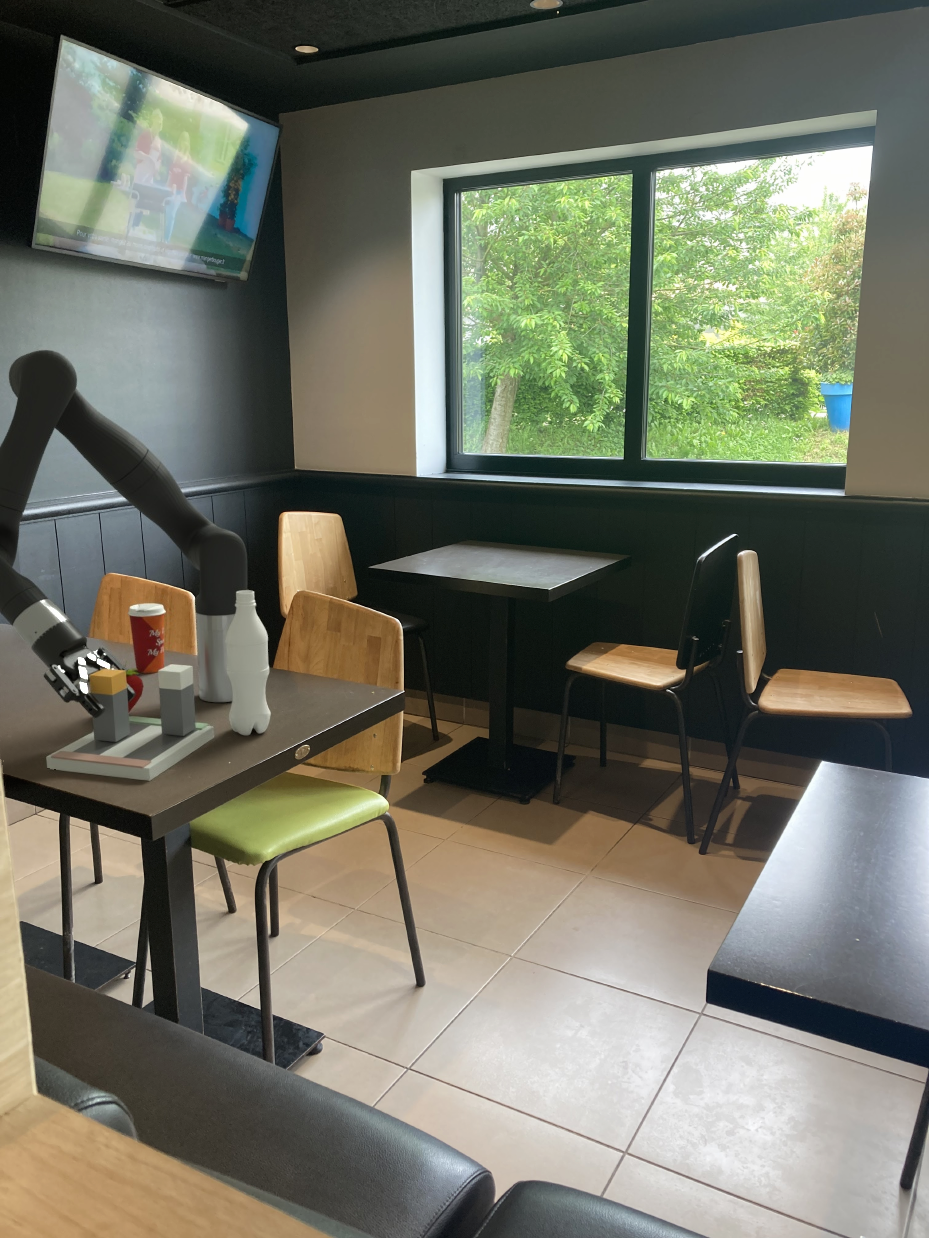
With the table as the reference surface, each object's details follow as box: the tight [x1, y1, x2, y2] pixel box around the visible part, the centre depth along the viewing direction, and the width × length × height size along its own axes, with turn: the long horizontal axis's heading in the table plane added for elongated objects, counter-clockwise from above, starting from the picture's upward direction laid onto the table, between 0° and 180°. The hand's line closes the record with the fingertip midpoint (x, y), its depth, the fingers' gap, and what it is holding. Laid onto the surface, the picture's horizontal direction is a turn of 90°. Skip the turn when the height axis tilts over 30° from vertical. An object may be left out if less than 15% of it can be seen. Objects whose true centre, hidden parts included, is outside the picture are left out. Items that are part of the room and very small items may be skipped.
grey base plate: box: [46, 663, 215, 782], centre depth 152 cm, size 20×18×13 cm
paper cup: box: [127, 602, 167, 674], centre depth 200 cm, size 8×8×14 cm
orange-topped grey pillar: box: [89, 668, 130, 742], centre depth 153 cm, size 4×4×11 cm
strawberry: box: [124, 660, 144, 713], centre depth 172 cm, size 6×8×10 cm
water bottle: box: [226, 589, 272, 736], centre depth 162 cm, size 7×7×25 cm
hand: (116, 706), depth 153 cm, fingers open, 8 cm apart
